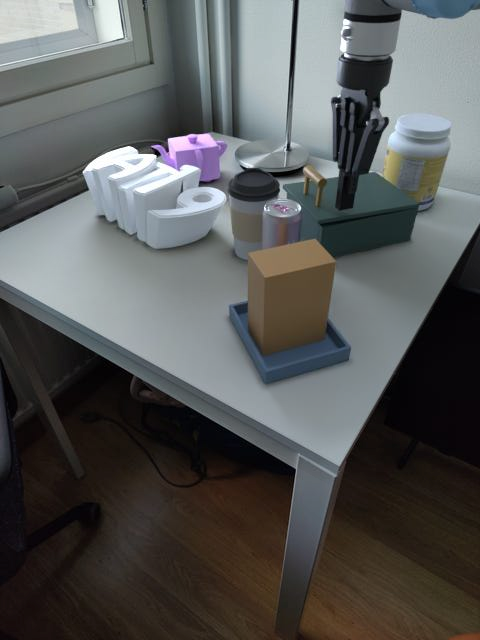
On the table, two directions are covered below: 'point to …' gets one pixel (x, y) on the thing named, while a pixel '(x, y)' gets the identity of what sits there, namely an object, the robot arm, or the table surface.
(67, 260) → the table surface
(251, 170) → the coffee cup
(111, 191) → the white letter sculpture
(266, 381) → the tray
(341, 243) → the box
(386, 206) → the lid
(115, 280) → the table surface
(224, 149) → the teapot
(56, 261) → the table surface
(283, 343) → the packet
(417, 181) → the supplement tub
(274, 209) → the beverage can
